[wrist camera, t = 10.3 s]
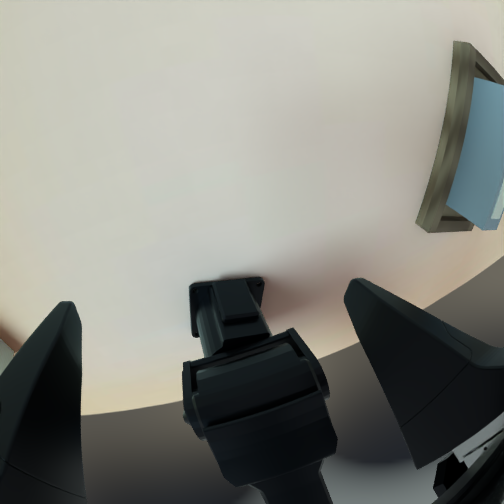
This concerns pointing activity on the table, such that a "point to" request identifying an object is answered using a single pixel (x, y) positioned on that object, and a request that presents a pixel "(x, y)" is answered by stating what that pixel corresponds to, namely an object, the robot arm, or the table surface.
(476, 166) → the frame block
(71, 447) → the robot arm
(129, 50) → the table surface
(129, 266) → the table surface
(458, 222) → the tray
